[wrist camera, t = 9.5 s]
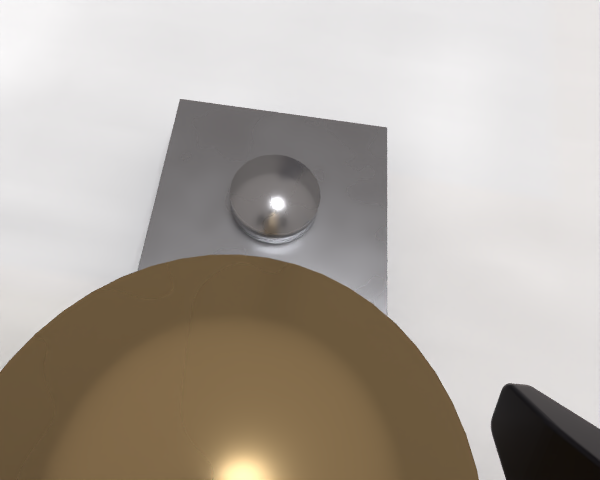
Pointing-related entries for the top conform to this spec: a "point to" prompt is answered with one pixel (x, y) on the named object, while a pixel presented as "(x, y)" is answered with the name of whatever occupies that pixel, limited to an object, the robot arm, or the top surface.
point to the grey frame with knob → (275, 193)
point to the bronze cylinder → (226, 384)
